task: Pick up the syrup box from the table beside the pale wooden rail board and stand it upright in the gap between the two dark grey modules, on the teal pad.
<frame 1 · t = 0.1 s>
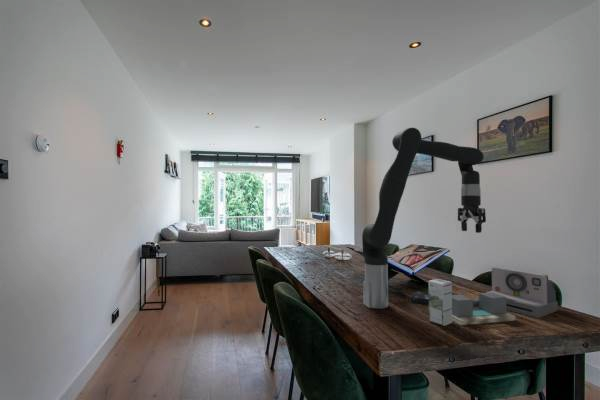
hand: (471, 231, 140), 29 cm above the table, tool pointing down, fingers open, 8 cm apart
syrup box: (440, 322, 112), on the table
instant camera: (521, 308, 128), on the table
disk drive: (431, 303, 136), on the table
rail board: (476, 316, 117), on the table
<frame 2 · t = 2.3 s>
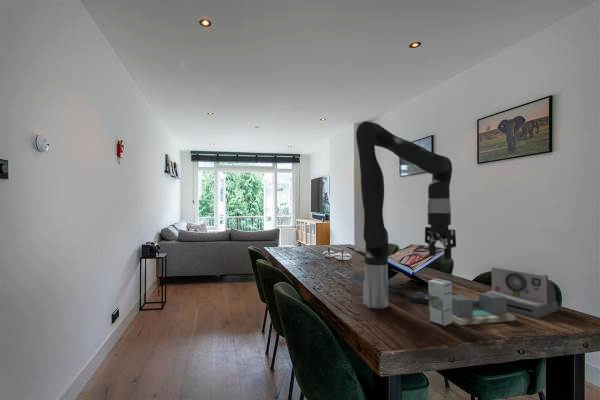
hand: (439, 257, 113), 23 cm above the table, tool pointing down, fingers open, 8 cm apart
nothing on the table moved.
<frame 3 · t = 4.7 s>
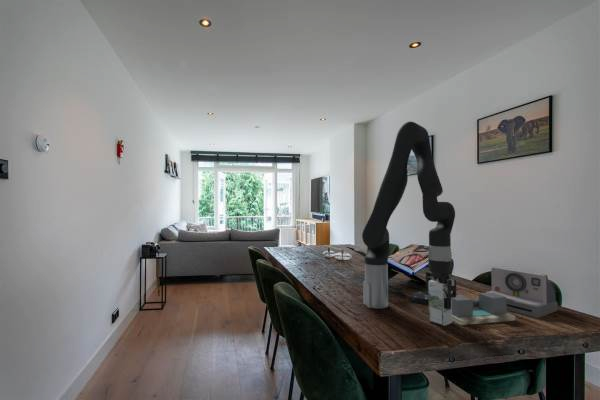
hand: (440, 305, 112), 6 cm above the table, tool pointing down, fingers closed on syrup box, 7 cm apart
syrup box: (440, 322, 112), on the table, touching gripper
everything else where it was.
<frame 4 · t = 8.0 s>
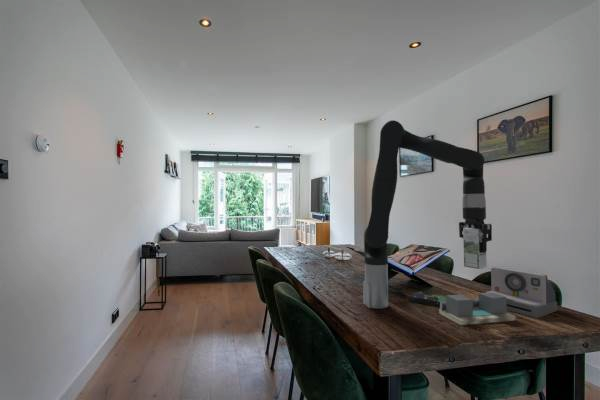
hand: (474, 251, 117), 24 cm above the table, tool pointing down, fingers closed on syrup box, 7 cm apart
syrup box: (475, 267, 117), point 18 cm above the table, touching gripper
everything else where it was.
when the fingers open (9 cm above the table, at t = 11.3 s): syrup box drops 1 cm, resting on rail board.
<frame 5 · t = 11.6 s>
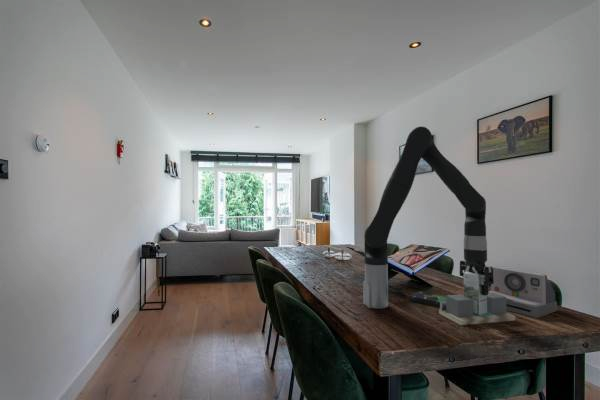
hand: (475, 291, 117), 9 cm above the table, tool pointing down, fingers open, 8 cm apart
syrup box: (475, 312, 117), point 2 cm above the table, touching rail board
everything else where it was.
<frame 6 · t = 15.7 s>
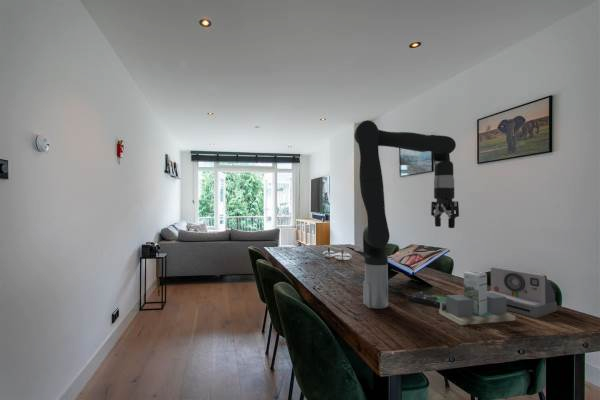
hand: (444, 227, 129), 32 cm above the table, tool pointing down, fingers open, 8 cm apart
nothing on the table moved.
at the end: syrup box 0.1 cm off-centre on the rail board, point 1.5 cm above the rail board's base; syrup box tilted 0°; the gripper is holding nothing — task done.
